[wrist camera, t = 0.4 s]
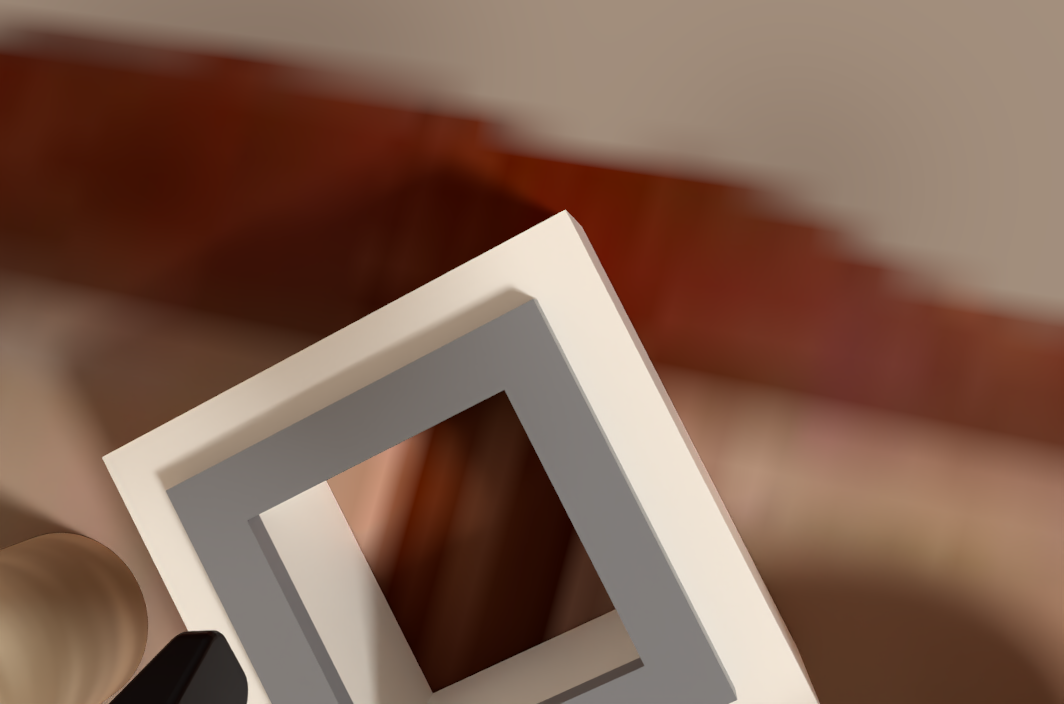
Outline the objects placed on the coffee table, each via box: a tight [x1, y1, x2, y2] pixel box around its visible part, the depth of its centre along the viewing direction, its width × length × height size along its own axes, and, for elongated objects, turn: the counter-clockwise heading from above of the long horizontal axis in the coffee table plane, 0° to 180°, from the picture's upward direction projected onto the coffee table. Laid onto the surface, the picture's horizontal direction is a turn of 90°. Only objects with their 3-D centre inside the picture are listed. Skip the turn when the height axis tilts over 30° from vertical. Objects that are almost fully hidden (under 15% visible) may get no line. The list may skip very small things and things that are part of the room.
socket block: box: [102, 210, 820, 704], centre depth 22 cm, size 12×12×5 cm
